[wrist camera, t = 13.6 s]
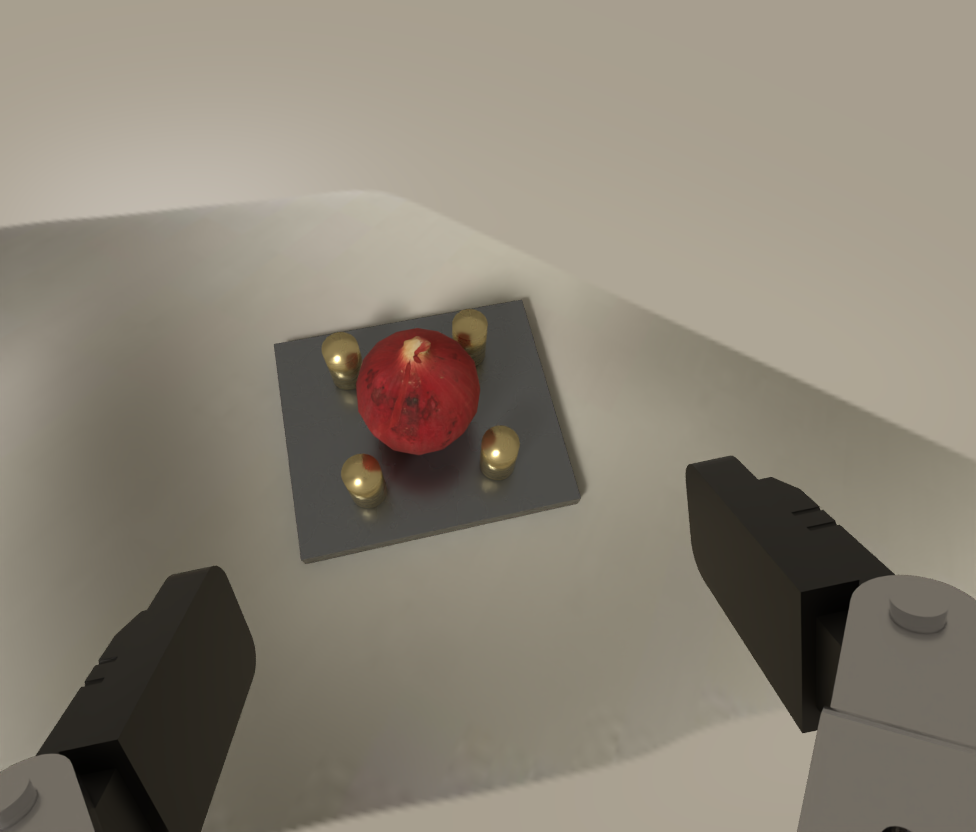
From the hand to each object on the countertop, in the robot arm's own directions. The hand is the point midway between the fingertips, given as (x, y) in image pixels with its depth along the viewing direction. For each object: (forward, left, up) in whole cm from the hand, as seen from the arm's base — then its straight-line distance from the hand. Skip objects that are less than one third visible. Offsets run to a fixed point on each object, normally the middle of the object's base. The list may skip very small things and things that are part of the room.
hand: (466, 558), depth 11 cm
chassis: (0, +11, -22) cm, 24 cm away
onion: (0, +11, -21) cm, 24 cm away
